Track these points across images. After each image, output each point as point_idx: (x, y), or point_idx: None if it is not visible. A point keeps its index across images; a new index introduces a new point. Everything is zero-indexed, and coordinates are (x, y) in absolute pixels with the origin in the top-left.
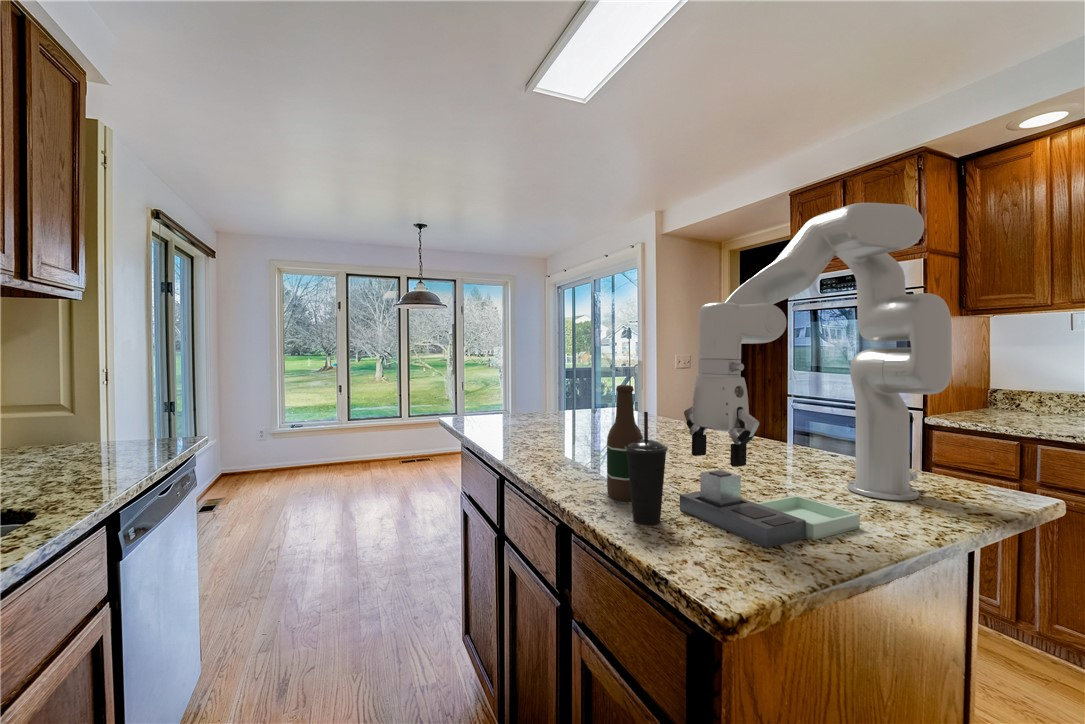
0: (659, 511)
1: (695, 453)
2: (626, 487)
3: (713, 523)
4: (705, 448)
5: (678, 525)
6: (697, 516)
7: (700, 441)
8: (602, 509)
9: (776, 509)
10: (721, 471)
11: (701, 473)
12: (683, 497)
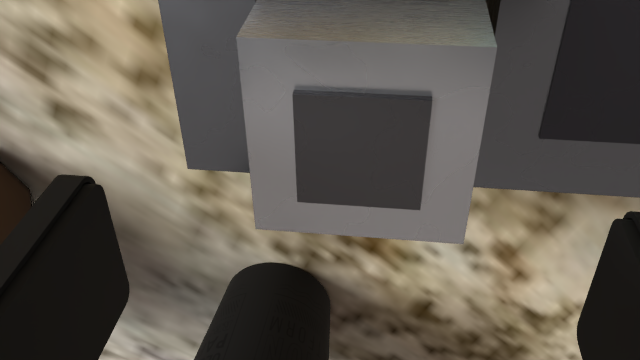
0: (323, 327)
1: (122, 302)
2: None
3: None
4: (70, 228)
5: (375, 248)
6: None
7: (52, 354)
8: (113, 337)
9: None
10: (325, 109)
11: (267, 225)
12: (220, 165)
